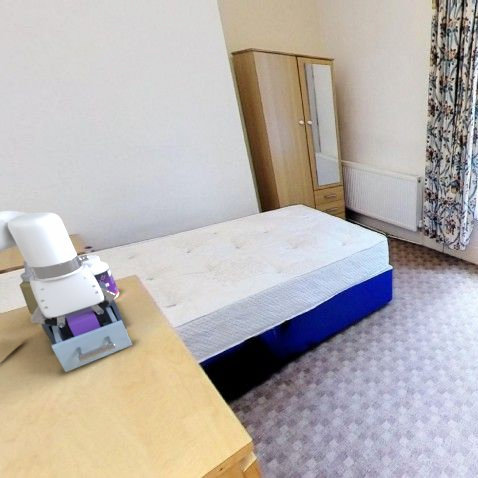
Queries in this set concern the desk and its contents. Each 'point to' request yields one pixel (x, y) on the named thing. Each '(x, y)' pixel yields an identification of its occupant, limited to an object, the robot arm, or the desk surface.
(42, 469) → the desk surface
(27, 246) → the robot arm
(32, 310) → the squeeze bottle
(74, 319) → the block
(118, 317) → the dark grey drawer cabinet
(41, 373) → the desk surface
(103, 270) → the pill bottle
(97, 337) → the pull-out drawer
